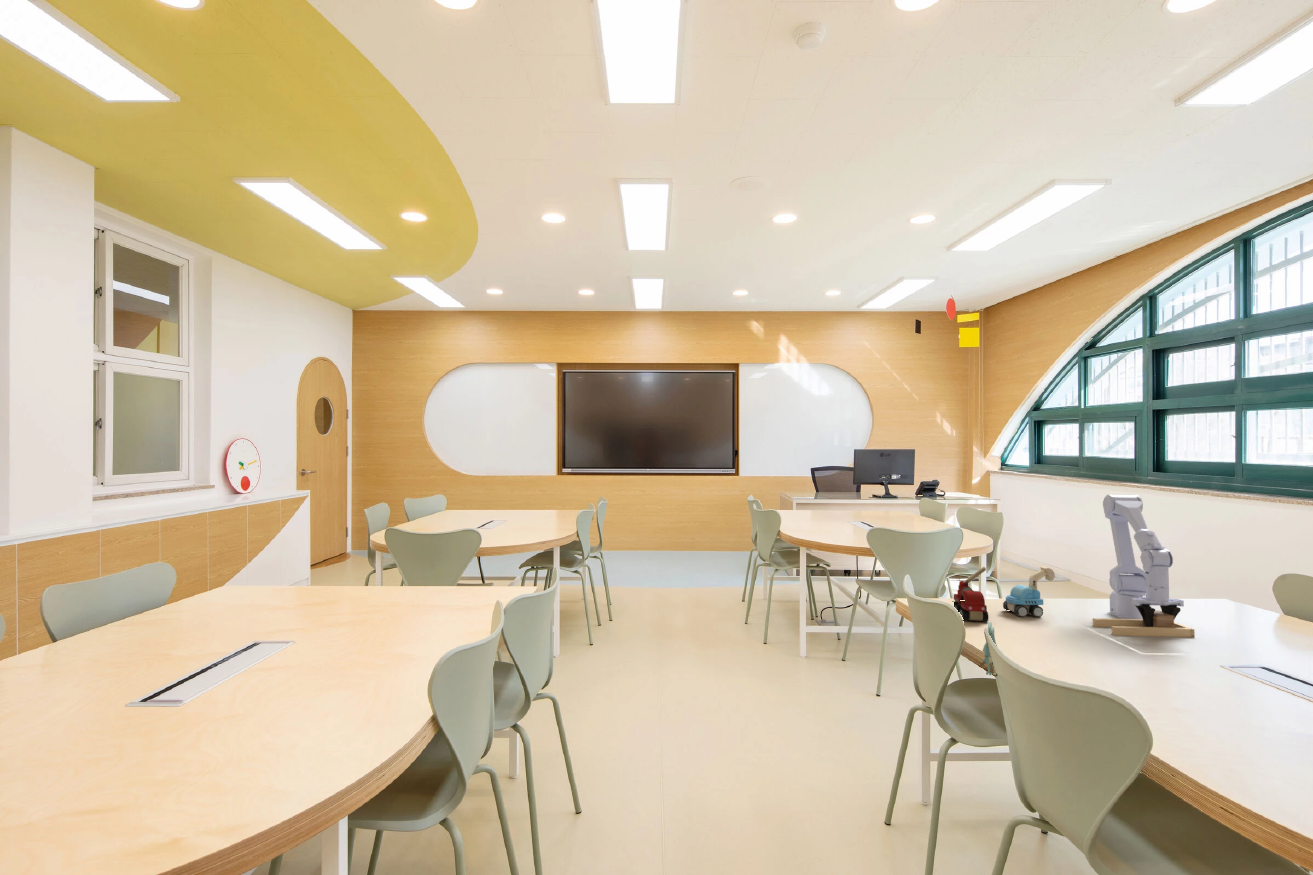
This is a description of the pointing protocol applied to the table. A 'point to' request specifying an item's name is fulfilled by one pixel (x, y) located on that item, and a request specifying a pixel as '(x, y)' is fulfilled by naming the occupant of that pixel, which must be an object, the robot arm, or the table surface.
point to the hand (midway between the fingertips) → (1158, 627)
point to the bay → (1142, 628)
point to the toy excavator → (1028, 595)
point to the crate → (1162, 620)
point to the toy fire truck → (971, 600)
